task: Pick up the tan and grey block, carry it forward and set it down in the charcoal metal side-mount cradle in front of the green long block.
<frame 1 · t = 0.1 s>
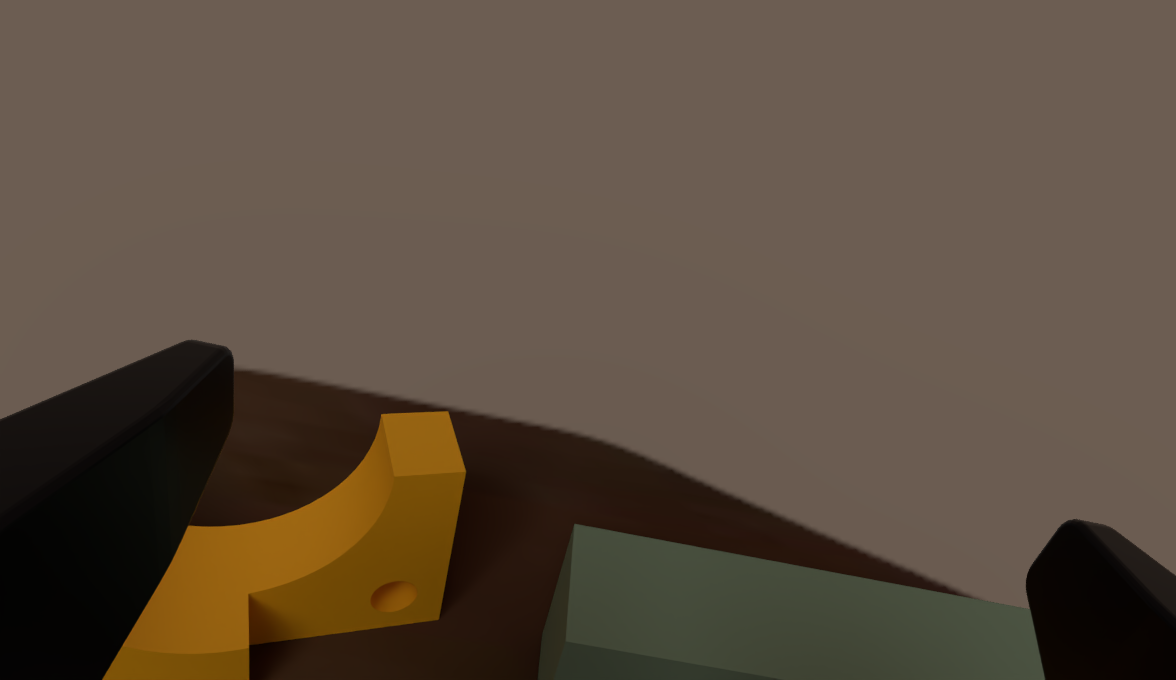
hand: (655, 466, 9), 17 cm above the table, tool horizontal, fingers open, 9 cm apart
pipe clamp: (231, 643, 25), on the table
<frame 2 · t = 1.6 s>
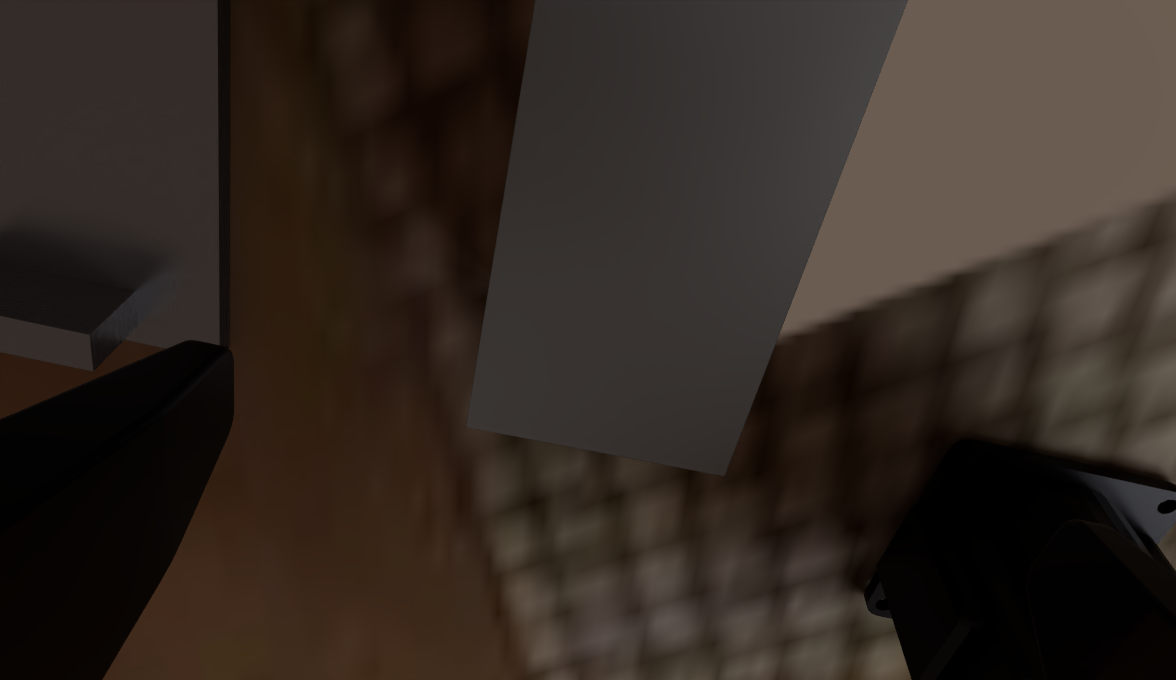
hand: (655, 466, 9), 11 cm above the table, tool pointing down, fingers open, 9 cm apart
tan and grey block: (649, 130, 18), on the table
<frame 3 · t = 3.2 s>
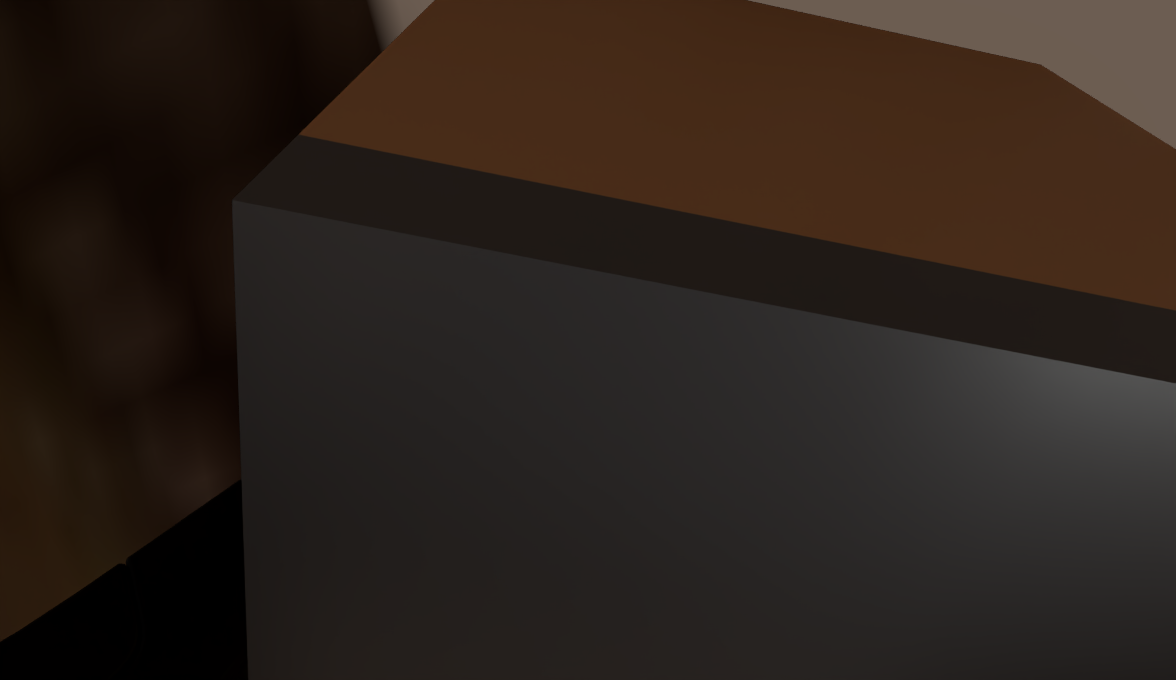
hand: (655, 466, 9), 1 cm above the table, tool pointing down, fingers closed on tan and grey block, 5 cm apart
tan and grey block: (653, 406, 10), on the table, touching gripper
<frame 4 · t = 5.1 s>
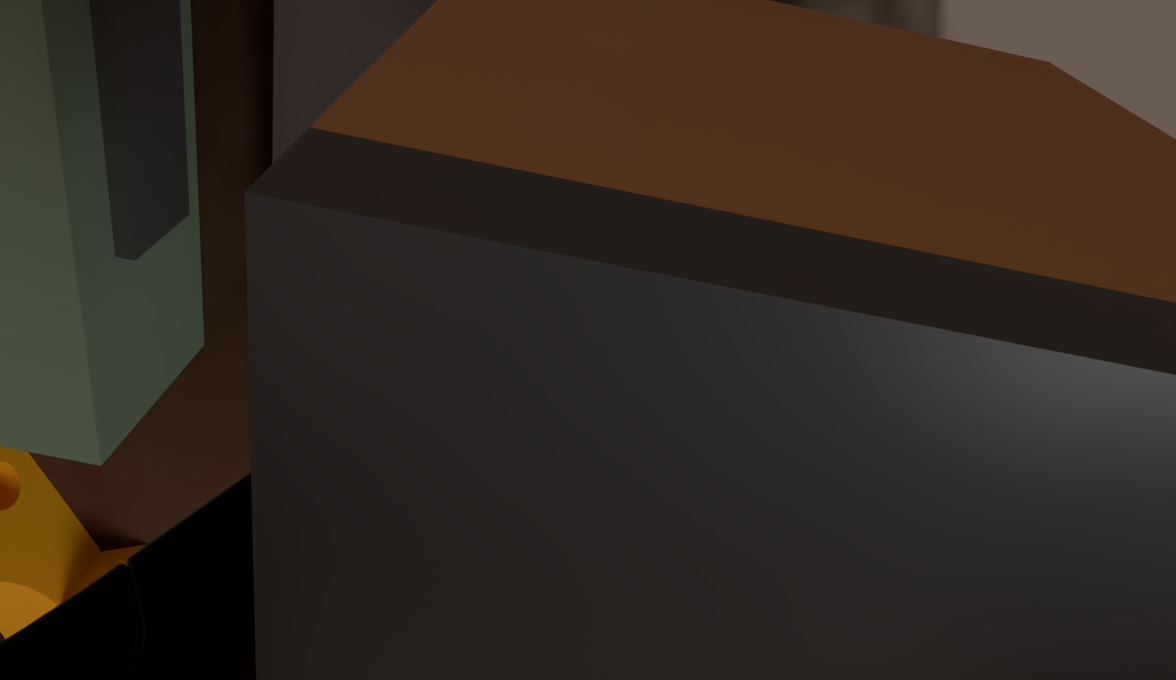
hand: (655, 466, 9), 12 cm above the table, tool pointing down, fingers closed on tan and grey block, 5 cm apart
green long block: (99, 20, 18), on the table
pipe clamp: (104, 555, 28), on the table
tan and grey block: (657, 405, 10), point 11 cm above the table, touching gripper
side mount: (463, 102, 19), on the table
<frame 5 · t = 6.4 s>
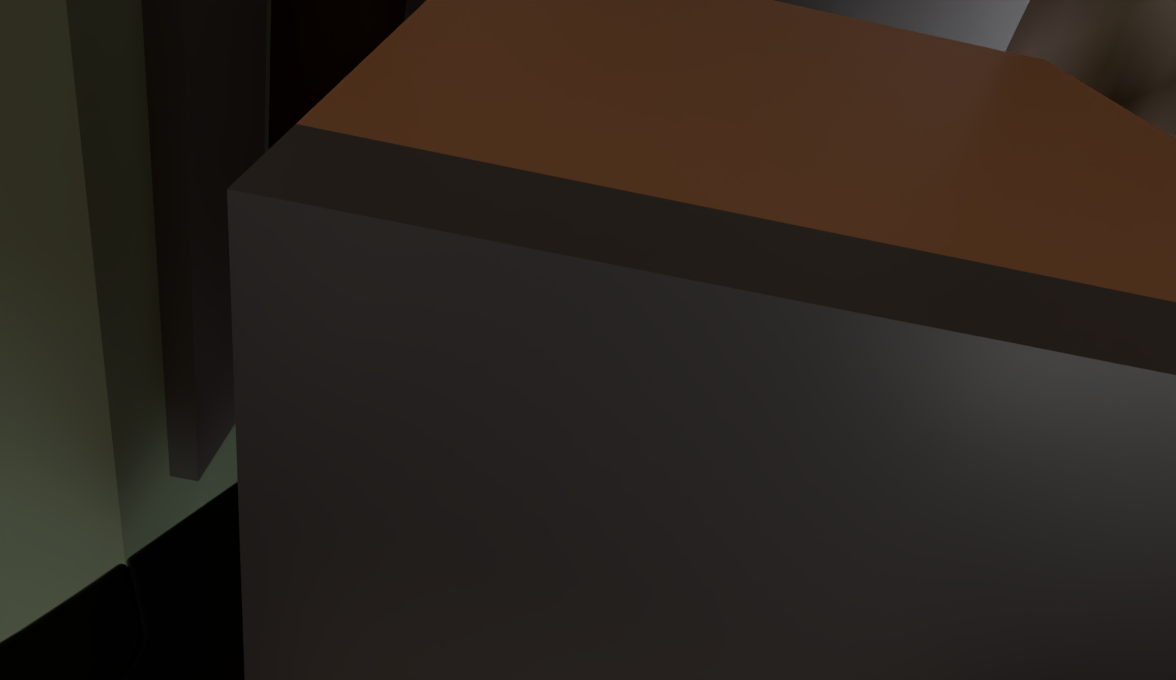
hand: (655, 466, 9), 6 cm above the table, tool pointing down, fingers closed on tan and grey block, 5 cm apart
green long block: (137, 123, 13), on the table
tan and grey block: (654, 405, 10), point 5 cm above the table, touching gripper
side mount: (641, 235, 14), on the table
when the fingers open (3 cm above the table, at t = 7.3 s): tan and grey block drops 2 cm, resting on side mount.
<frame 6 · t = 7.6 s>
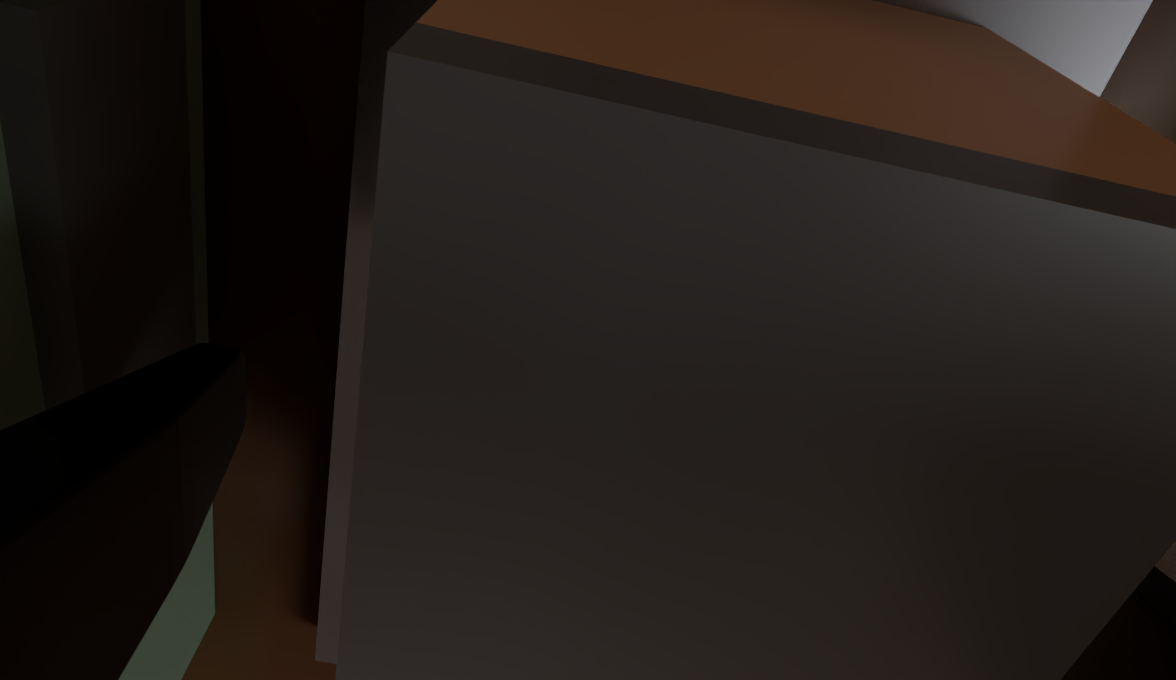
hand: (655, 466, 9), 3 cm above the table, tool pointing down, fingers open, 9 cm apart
green long block: (49, 185, 11), on the table
tan and grey block: (651, 333, 11), point 1 cm above the table, touching side mount
side mount: (646, 313, 12), on the table
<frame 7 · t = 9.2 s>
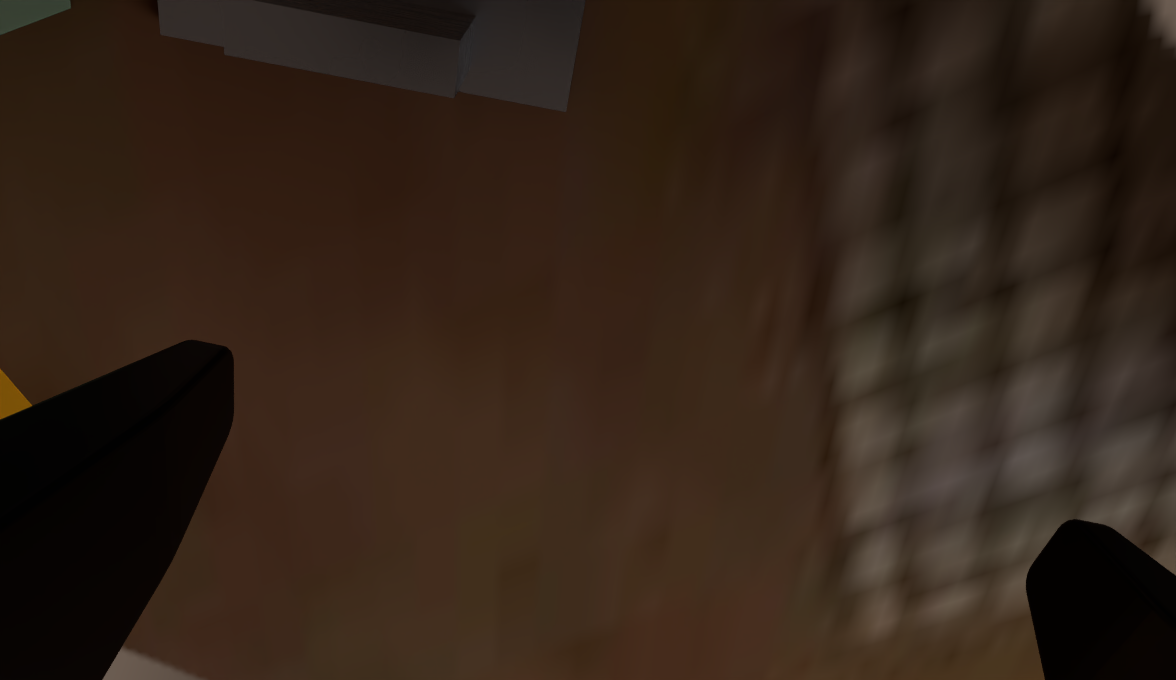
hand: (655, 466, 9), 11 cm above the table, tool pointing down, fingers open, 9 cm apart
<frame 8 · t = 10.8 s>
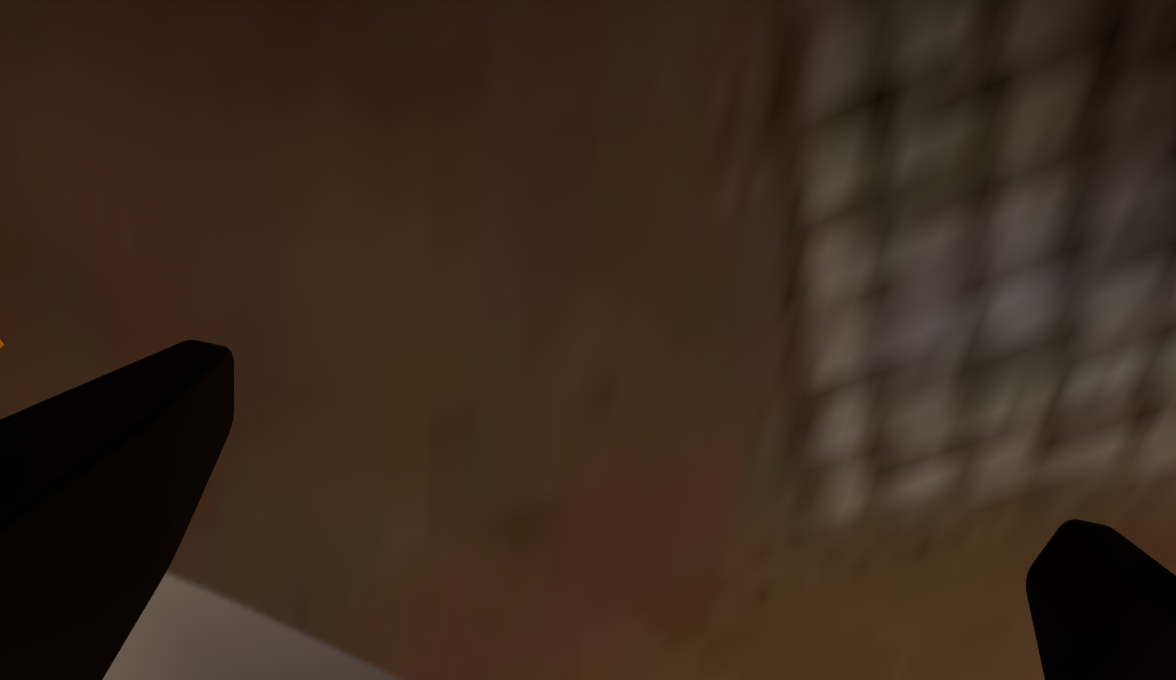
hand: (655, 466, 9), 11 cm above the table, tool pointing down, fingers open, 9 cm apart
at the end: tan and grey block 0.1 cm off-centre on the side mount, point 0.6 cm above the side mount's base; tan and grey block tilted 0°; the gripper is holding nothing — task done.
